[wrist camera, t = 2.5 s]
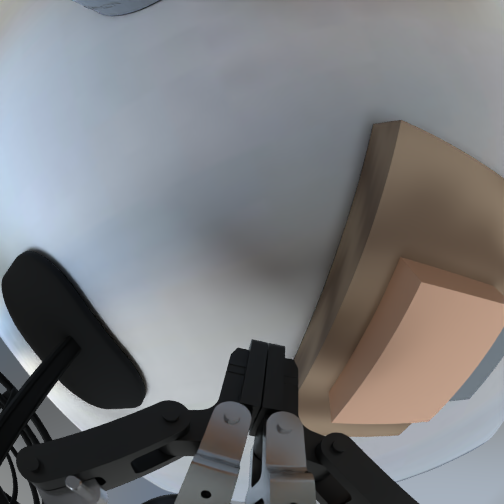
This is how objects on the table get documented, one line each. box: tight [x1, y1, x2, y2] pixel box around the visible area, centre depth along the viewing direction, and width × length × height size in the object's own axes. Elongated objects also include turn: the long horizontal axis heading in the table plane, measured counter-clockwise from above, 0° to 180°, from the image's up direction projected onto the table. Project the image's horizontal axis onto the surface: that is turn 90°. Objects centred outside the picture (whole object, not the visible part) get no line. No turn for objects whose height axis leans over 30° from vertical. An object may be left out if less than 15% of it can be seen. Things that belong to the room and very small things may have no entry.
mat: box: [449, 327, 504, 401], centre depth 17 cm, size 18×12×1 cm, turn 168°
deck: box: [294, 120, 504, 437], centre depth 15 cm, size 22×12×4 cm, turn 168°
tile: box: [329, 257, 504, 424], centre depth 12 cm, size 10×8×2 cm
